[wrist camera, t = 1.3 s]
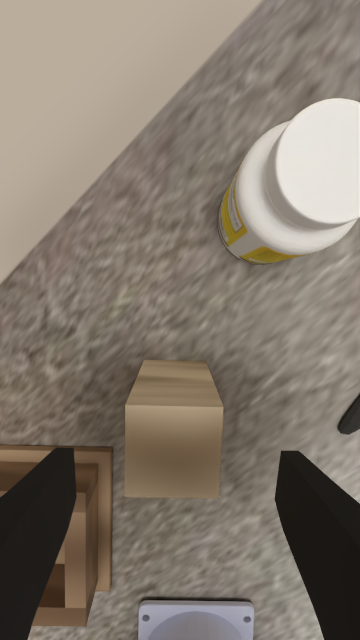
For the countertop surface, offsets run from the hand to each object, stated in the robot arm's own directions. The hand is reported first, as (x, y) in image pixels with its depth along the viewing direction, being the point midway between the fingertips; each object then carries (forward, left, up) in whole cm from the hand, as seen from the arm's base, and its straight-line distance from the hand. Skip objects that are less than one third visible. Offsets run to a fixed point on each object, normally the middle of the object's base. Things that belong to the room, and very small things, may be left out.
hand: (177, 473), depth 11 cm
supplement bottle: (+11, -5, -10) cm, 16 cm away
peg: (0, 0, -10) cm, 10 cm away
